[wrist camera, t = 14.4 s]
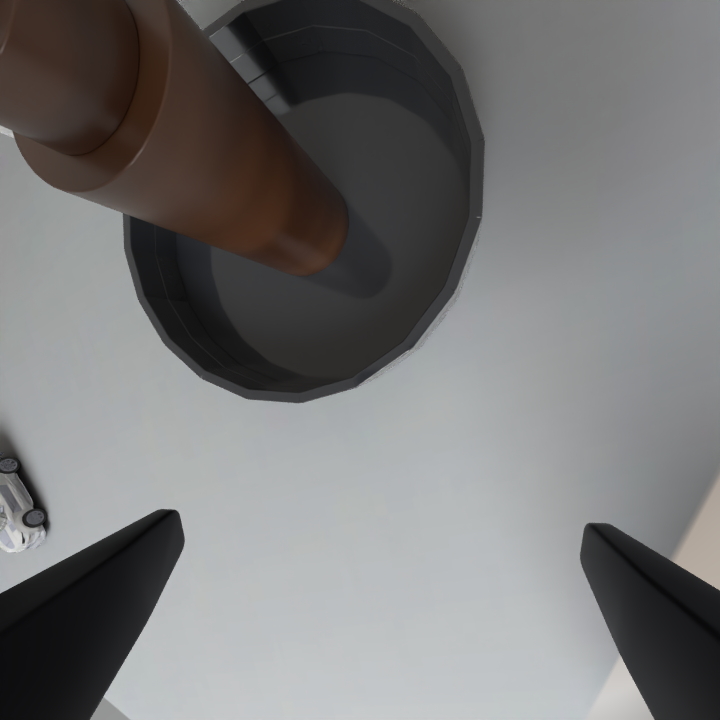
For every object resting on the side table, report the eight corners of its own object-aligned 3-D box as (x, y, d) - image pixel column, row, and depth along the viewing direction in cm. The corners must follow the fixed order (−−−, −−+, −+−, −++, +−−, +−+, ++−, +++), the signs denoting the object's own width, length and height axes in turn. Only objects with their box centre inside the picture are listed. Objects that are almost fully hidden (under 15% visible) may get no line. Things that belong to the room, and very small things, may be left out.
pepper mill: (362, 252, 17) (4, -49, 4) (278, 290, 19) (-186, 171, 5) (330, 158, 17) (-114, -441, 4) (249, 203, 19) (-264, -119, 6)
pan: (540, 72, 15) (562, -6, 11) (406, 441, 18) (393, 465, 14) (215, 36, 19) (164, -26, 16) (150, 332, 22) (95, 331, 19)
